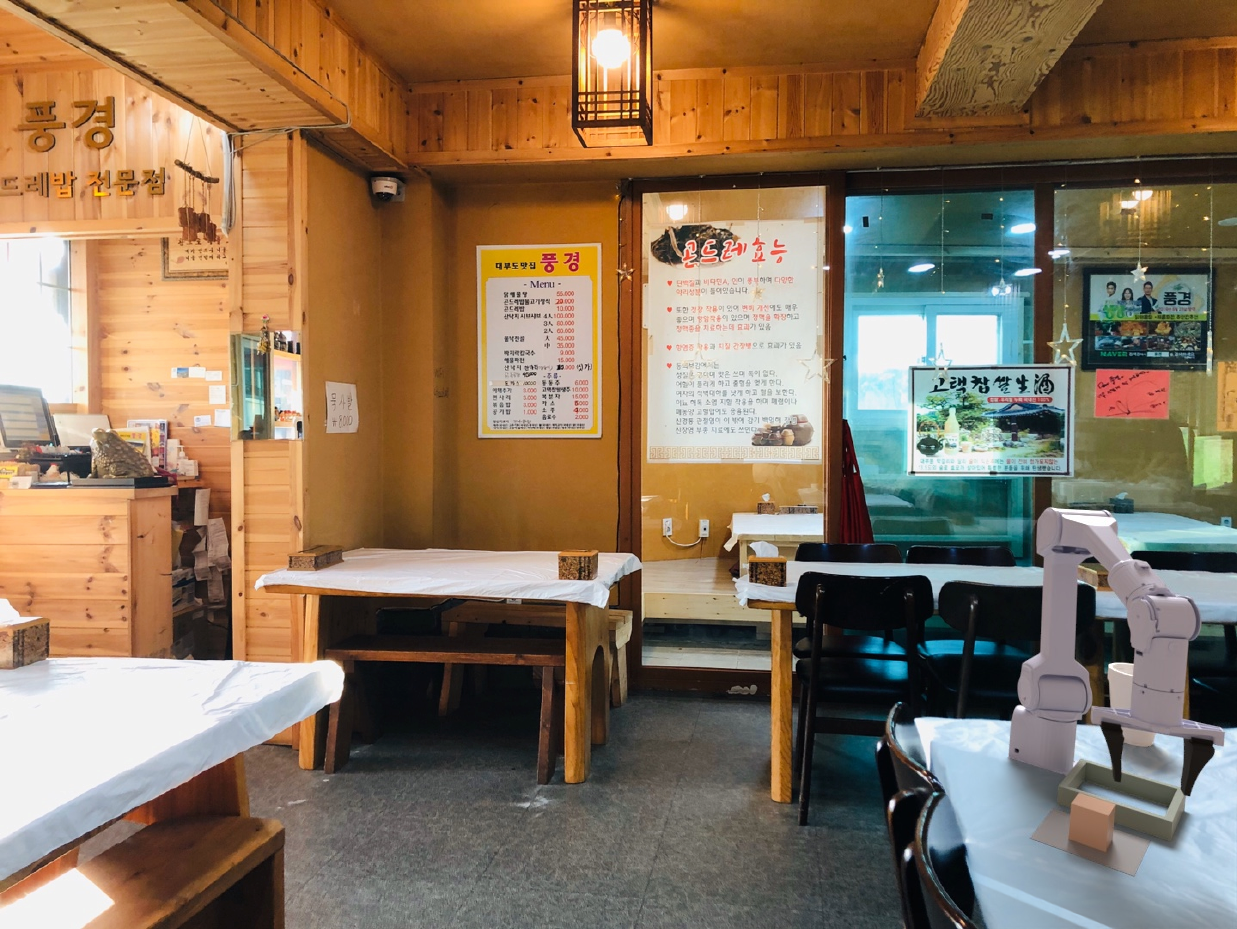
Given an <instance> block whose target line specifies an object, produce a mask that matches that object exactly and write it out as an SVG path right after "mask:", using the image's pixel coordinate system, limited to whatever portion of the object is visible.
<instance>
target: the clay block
mask: <svg viewBox="0 0 1237 929" xmlns="http://www.w3.org/2000/svg"><path fill="white" fill-rule="evenodd" d="M1115 807H1116V804H1113V803H1110V802H1107V801H1103V800H1100V799H1097V798H1094V797H1091V796H1088V795H1085V794H1081V793H1079V794H1078V795H1077V796H1076V798H1075V799H1074V800H1073V802H1072V803H1071V808H1070V825H1069V837H1068V839H1070V840H1073V841H1076V842H1079V843H1082V844H1084V845H1087V846H1090V847H1093V848H1096V849H1098V850H1101V851H1104V852H1106V851H1107V849H1108V847H1109V845H1110V844H1111V842H1112V840H1113V830H1114V829H1115V828H1114V827H1115V826H1114V825H1115V823H1114V818H1115Z"/></svg>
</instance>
